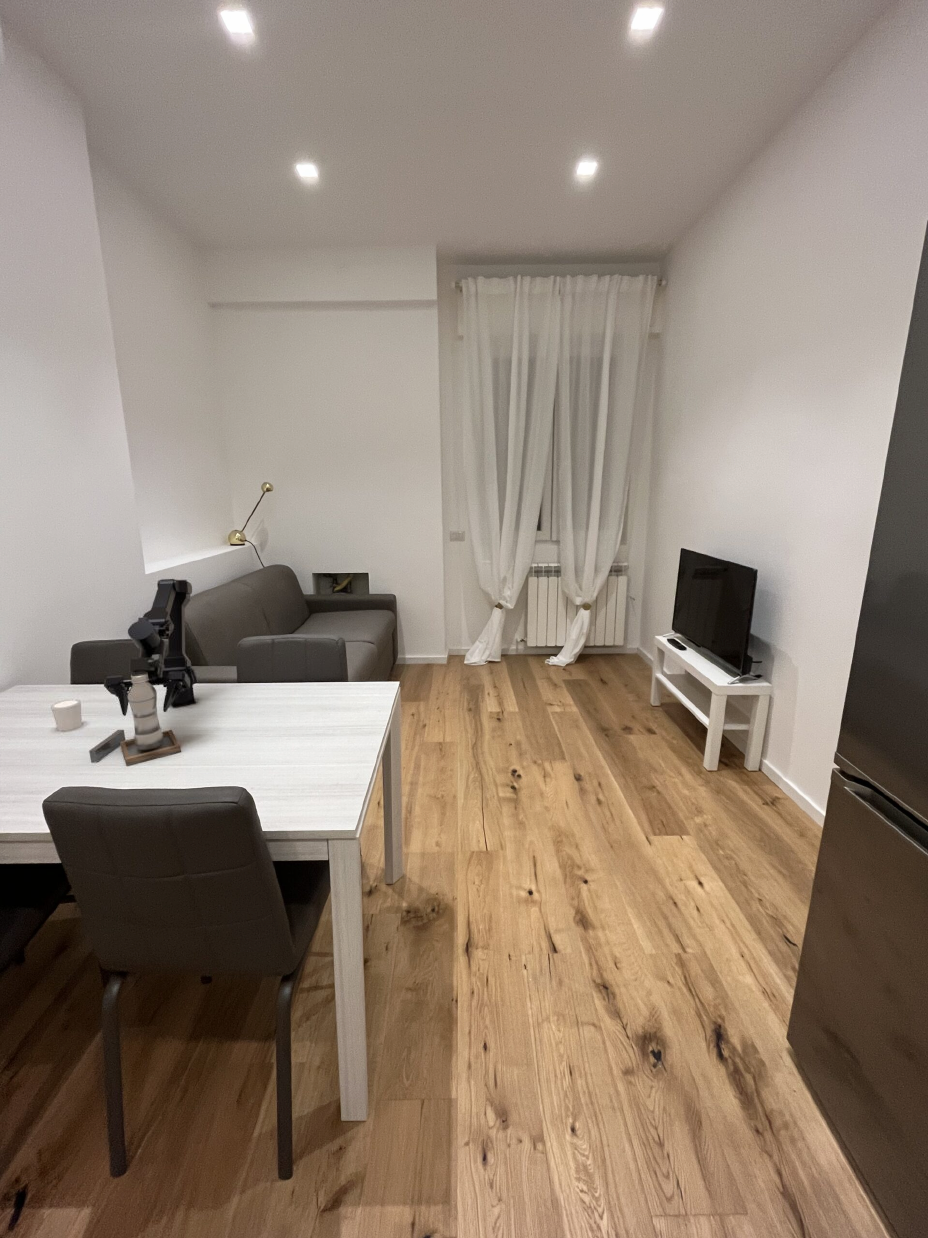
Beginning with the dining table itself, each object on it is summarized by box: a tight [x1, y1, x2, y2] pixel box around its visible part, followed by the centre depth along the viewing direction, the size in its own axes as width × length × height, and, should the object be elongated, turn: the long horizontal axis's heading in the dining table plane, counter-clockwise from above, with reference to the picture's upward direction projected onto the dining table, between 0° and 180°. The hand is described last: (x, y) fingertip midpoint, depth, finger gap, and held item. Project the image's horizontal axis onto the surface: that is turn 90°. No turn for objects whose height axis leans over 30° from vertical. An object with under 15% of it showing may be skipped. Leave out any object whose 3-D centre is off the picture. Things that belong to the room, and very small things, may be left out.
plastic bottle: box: [127, 672, 163, 751], centre depth 138 cm, size 6×7×20 cm
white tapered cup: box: [50, 699, 83, 732], centre depth 153 cm, size 7×7×7 cm
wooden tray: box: [119, 729, 182, 767], centre depth 140 cm, size 12×12×2 cm
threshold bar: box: [88, 729, 126, 763], centre depth 140 cm, size 12×2×3 cm, turn 1°
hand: (144, 713), depth 137 cm, fingers open, 9 cm apart
